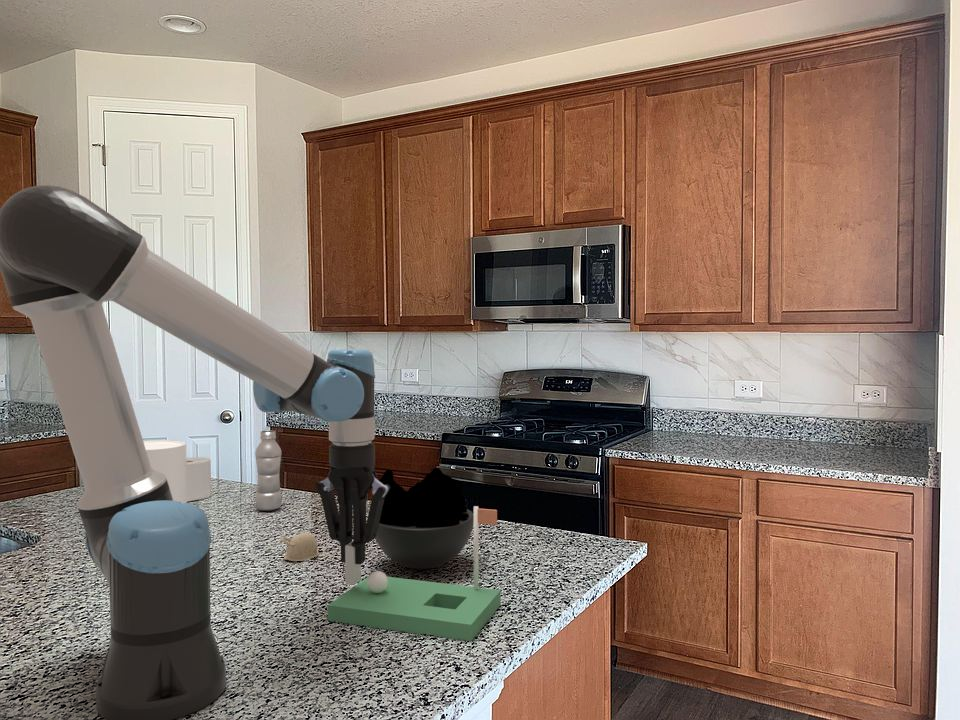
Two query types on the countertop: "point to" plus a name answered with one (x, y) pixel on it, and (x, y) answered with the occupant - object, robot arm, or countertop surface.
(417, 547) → the coal bowl
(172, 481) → the canister
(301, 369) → the robot arm
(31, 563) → the countertop surface
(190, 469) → the toilet tissue
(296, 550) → the decorative ornament
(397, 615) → the green
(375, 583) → the ball
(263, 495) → the plastic bottle
